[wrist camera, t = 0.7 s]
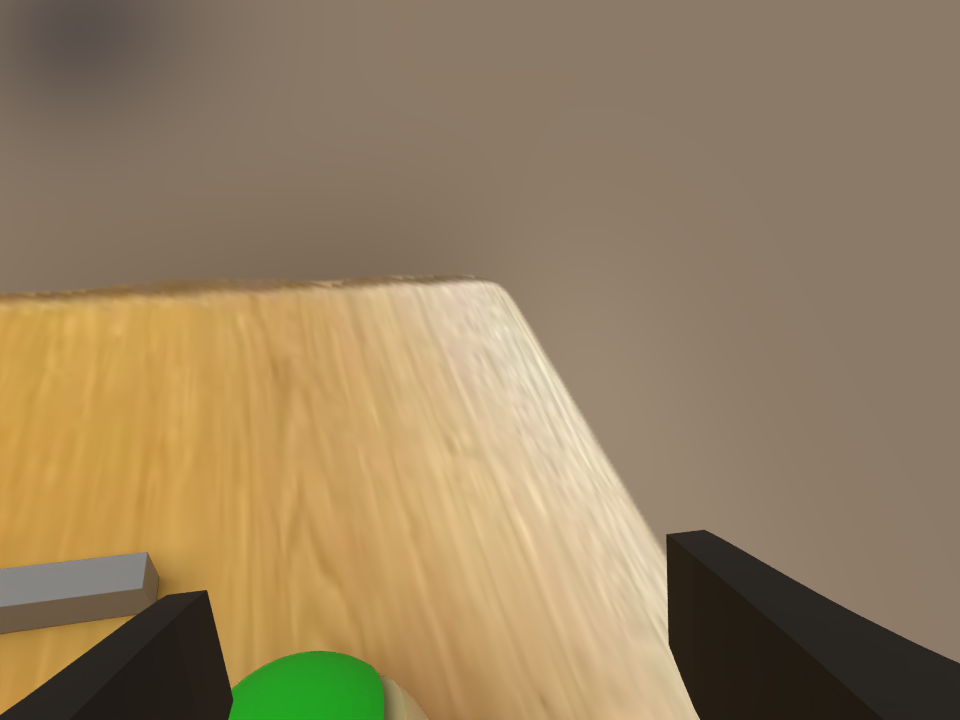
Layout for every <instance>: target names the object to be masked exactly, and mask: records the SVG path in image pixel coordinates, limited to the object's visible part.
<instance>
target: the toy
mask: <svg viewBox="0 0 960 720" xmlns="http://www.w3.org/2000/svg"><path fill="white" fill-rule="evenodd" d="M231 692H232V696H233V704H232V708H231V712H230V715H229V719H228V720H429V718H428V717H427V715H426V713H425V712H424V710H423V709H422V708H421V707H420V705H419V704H418V703H417V701H416V700H415V699H414V698H413V697H412V696H411V695H410V694H409V693H408V692H407V691H406V690H405V689H404V688H403V687H402V686H400V685H399V684H398V683H396V682H395V681H393V680H392V679H390V678H388V677H386V676H382V675H378V673H377V672H376V671H375V669H374V668H373V667H372V666H371V665H369V664H367V663H365V662H363V661H361V660H359V659H357V658H355V657H352V656H349V655H345V654H341V653H336V652H327V651H311V652H304V653H297V654H293V655H290V656H286V657H283V658H280V659H277V660H275V661H273V662H271V663H269V664H267V665H265V666H263V667H261V668H259V669H258V670H256V671H255V672H253V673H252V674H250V675H248V676H247V677H246V678H245V679H243V680H242V681H241V682H240V683H239V684H237V685H236V686H235V687H234V688H233V689H232V690H231Z"/></svg>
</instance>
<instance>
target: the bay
mask: <svg viewBox="0 0 960 720" xmlns="http://www.w3.org/2000/svg"><path fill="white" fill-rule="evenodd" d="M158 583H159V576H158V574H157V572H156V569H155V567H154V565H153V563H152V561H151V559H150V557H149V555H148V552H144V553H136V554H127V555H118V556H110V557H101V558H93V559H84V560H75V561H67V562H58V563H49V564H41V565H32V566H24V567H15V568H6V569H0V634H2V633H9V632H16V631H23V630H30V629H37V628H44V627H51V626H58V625H65V624H73V623H80V622H87V621H94V620H101V619H108V618H115V617H122V616H129V615H136V614H139V613H140V612H142V611H143V610H145V609H146V608H148V607H149V606H151V605H152V604H153V603H155V602H156V599H157V591H158Z"/></svg>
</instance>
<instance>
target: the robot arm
mask: <svg viewBox="0 0 960 720" xmlns="http://www.w3.org/2000/svg"><path fill="white" fill-rule="evenodd" d="M666 538H667V539H666V541H667V588H668V635H669V646H670V649H671V652H672V654H673V657H674V659H675V662H676V664H677V667H678V670H679V672H680V675H681V677H682V680H683V682H684V685H685V687H686V689H687V692H688V694H689V697H690V699H691V702H692V704H693V706H694V709H695V711H696V712H697V714H698V716H699V718H700V720H960V663H958V662H955V661H953V660H951V659H948V658H946V657H944V656H942V655H940V654H938V653H935V652H933V651H931V650H929V649H927V648H924V647H922V646H920V645H918V644H916V643H914V642H912V641H910V640H907V639H906V638H904V637H902V636H899V635H897V634H896V633H894V632H891V631H890V630H888V629H886V628H883V627H881V626H880V625H878V624H876V623H874V622H872V621H869V620H867V619H865V618H864V617H861V616H860V615H858V614H856V613H854V612H852V611H850V610H848V609H846V608H844V607H842V606H841V605H839V604H837V603H835V602H833V601H831V600H829V599H827V598H826V597H824V596H822V595H820V594H818V593H816V592H815V591H813V590H811V589H809V588H808V587H806V586H804V585H802V584H800V583H799V582H797V581H795V580H793V579H792V578H789V577H788V576H786V575H784V574H783V573H781V572H779V571H777V570H776V569H774V568H772V567H770V566H769V565H767V564H765V563H764V562H761V561H760V560H758V559H757V558H755V557H753V556H751V555H750V554H748V553H746V552H744V551H743V550H741V549H739V548H737V547H736V546H734V545H732V544H730V543H729V542H727V541H725V540H723V539H721V538H720V537H718V536H716V535H714V534H712V533H710V532H708V531H706V530H699V531H691V532H682V533H674V534H667V535H666ZM232 704H233V696H232V692H231V688H230V683H229V679H228V675H227V671H226V667H225V663H224V659H223V654H222V650H221V646H220V642H219V638H218V634H217V630H216V625H215V621H214V617H213V613H212V609H211V605H210V601H209V596H208V592H207V590H204V591H196V592H187V593H179V594H171V595H166V596H165V597H163V598H161V599H160V600H158V601H157V602H155V603H153V604H152V605H151V606H149V607H148V608H146V609H145V610H143V611H142V612H140V613H139V614H138V615H136V616H135V617H133V618H132V619H131V620H129V621H128V622H126V623H125V624H124V625H122V626H121V627H120V628H118V629H117V630H116V631H114V632H113V633H112V634H110V635H109V636H107V637H106V638H105V639H103V640H102V641H101V642H99V643H98V644H97V645H95V646H94V647H93V648H91V649H90V650H89V651H87V652H86V653H85V654H83V655H82V656H81V657H79V658H78V659H77V660H75V661H74V662H73V663H71V664H70V665H69V666H67V667H66V668H65V669H63V670H62V671H60V672H59V673H58V674H56V675H55V676H54V677H52V678H51V679H50V680H48V681H47V682H46V683H44V684H43V685H42V686H40V687H39V688H38V689H36V690H35V691H34V692H32V693H31V694H29V695H28V696H27V697H25V698H24V699H22V700H21V701H20V702H18V703H17V704H15V705H14V706H13V707H11V708H10V709H8V710H7V711H5V712H4V713H3V714H1V715H0V720H228V719H229V715H230V712H231V708H232Z"/></svg>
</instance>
